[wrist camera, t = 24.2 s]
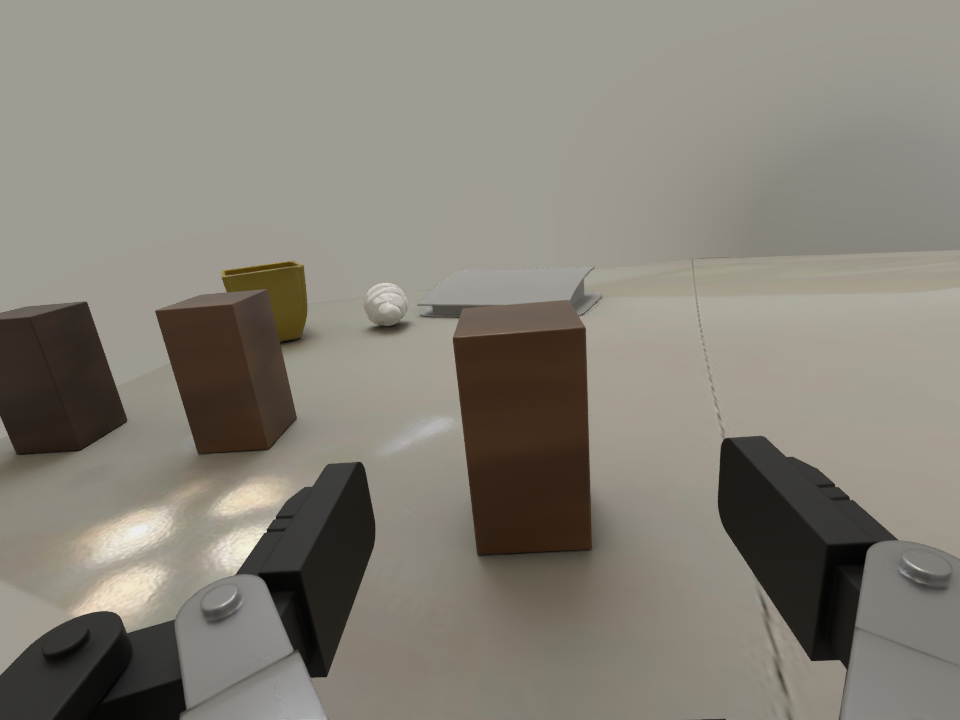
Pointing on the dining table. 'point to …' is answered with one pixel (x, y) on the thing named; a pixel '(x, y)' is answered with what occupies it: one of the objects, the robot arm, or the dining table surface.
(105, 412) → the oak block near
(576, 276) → the book
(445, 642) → the dining table surface
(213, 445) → the walnut block middle
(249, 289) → the flower pot
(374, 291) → the white swirl cone
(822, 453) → the dining table surface
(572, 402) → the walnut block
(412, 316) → the dining table surface
